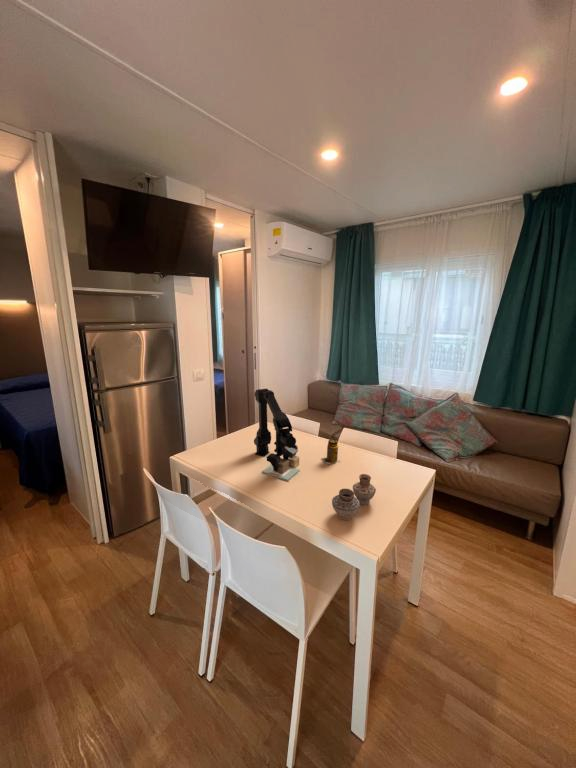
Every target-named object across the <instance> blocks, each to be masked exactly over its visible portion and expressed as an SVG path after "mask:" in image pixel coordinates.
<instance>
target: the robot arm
mask: <svg viewBox="0 0 576 768" xmlns="http://www.w3.org/2000/svg"><path fill="white" fill-rule="evenodd" d="M254 398H255V401H256V402H257V404H258V430H256V436H255V438H254V439H253V443H254V445H255V446H256V451H255V452H254V455H257V456H260V457H266V461H267V462H269V463H270V465H271V464H272V466H273V468H274V470H275V472H277V471H278V463H279V462H281V461H280V459H281V456H282V459H286V460H288V459H289V458H293V457H294V456H297V453H298V452H299V450H298V449H299V447H298V445H297V444H296V443H297V439H296V437H294V436H293V433H291V432H293V426H292V423H291V421H290V419H289V417H288V415H287V414H286V413H285V412H283V410H282V409H281V408H280V405H279V403H278V400H277V399H276V397H275V393H274V391H272V390H271V389H268V388H261V389H260V388H259V389H255V391H254ZM268 407H269V410H270V412H271V414H272V416H273V418H272V422H273V427H274V431H275V442H274V443H273V444H274V445H275V449H274V450H273V453H272V452H271V453H270V450H269V445H270V444H271V443H272V433H271V431H270V430H269V429H268ZM274 452H275V453H274ZM268 454H269V455H268Z"/></svg>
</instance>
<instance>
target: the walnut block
mask: <svg viewBox="0 0 576 768" xmlns="http://www.w3.org/2000/svg"><path fill="white" fill-rule="evenodd" d="M280 461H281V462H279V463H278V471H277V472H278V473H281V474H284V473H285V472H286V471H287V470H289V460H286V459H283V457H282V458H281V459H280ZM273 471H275V470H274V468H273Z"/></svg>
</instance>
